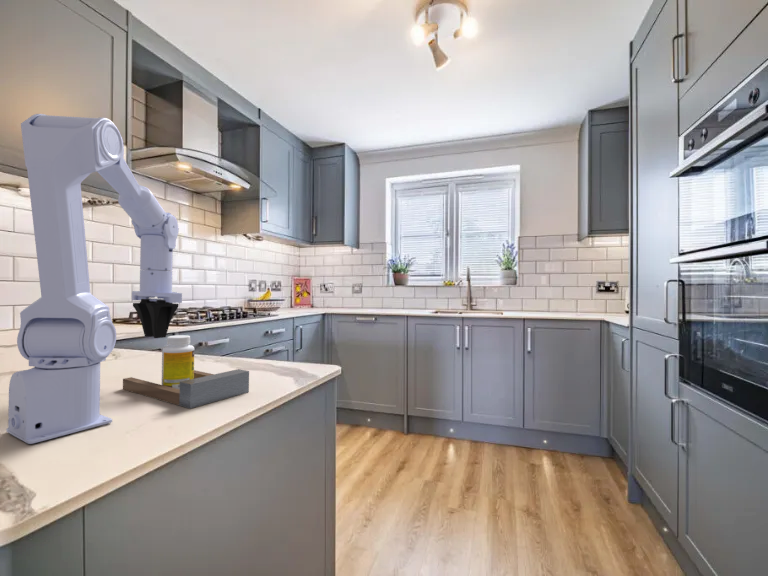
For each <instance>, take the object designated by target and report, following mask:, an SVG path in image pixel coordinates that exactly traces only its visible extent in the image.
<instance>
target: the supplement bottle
mask: <svg viewBox="0 0 768 576" xmlns="http://www.w3.org/2000/svg"><path fill="white" fill-rule="evenodd" d="M166 337H167V338H166V339H167V340H166V346H164V347H163V348H162V350H161V351H162V352H161V385H164V386H168V387H172V388H176V389H179V390H180V382H181V381H186V380H191V379H194V370H195V346H193V345H192V344H191V335H187V334H177V335H170V336H166Z"/></svg>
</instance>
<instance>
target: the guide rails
mask: <svg viewBox="0 0 768 576" xmlns="http://www.w3.org/2000/svg"><path fill="white" fill-rule="evenodd" d="M214 374H215V373H214ZM214 374H213V373H210V372H205V371H199V370H195V369H194V379H195V378H200V377H204V376H209V375H214ZM122 390H125V391H128V392H131V393H135V394H139V395H141V396H145V397H148V398H151V399H156V400H158V401H162V402H166V403H168V404H169V403H170V404H173V405H176V406H179V397H180V390H179V389H176V388H172V387H168V386H164V385H162V384H159V383H155V382H151V381H148V380H143V379H139V378H136V377H133V376H130V377H124V378H122Z"/></svg>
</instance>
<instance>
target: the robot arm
mask: <svg viewBox="0 0 768 576" xmlns="http://www.w3.org/2000/svg"><path fill="white" fill-rule="evenodd" d="M20 128H21V129H20V130H21V138H22V146H23V147H22V148H23V155H24V164H25V168H26V170H27V178H28V179H27V180H28V187H29V197H30V207H31V208H30V209H31V216H32V225H33V233H34V241H35V244H34V245H35V251H36V253H35V254H36V260H37V261H36V262H37V269H38V270H37V271H38V277H39V279H38V280H39V287H40V297H39V298H38V299H36V300H35V301H34V302H32V303H31V304H29V305H28V306H26V307H25V308H24V309H23V310H21V311H20V312H19V315H20V316H19V317H20V325H19V326H20V328H19V330H18V334H17V337H16V345H17V349H18V352H19V354H20V355H21V356H22V357H23V358H24V359H25V360H27V361H28V367H32V368H29V369H25V370H18V371H15V372H14V373H13V374H12V375H11V376H10V380H9V386H8V413H7V415H8V420H7V421H8V422H7V423H8V424H7V426H8V427H7V428H6V429H5V431H6V433H8V434H10V435H11V436H12V437H15V438H17V439H18V440H21V441H23V442H25V444H27V445H31V444H33V445H34V444H36V443H40V442H43V441H48V440H51V439H55V438H58V437H63V436H66V435H67V436H68V435H69V434H74V433H77V432H81V431H84V430H89V429H93V428H96V427H100V426H104V425H107V424H111V423H112V422H113V418H111V417H108V416H107V415H106V416H105V415H102V414H100V410H101V409H100V405H101V403H100V402H101V362H106V360H107V358H108V357H109V356H110V354H112V352H113V350H114V348H115V345H116V342H117V330H116V327H115V325H114V323H113V321H112V317H111V312H110V307H109V305H107V304H105V303H104V302H103V301H102V300H100V299H99V298H97V297H96V296H95V295H93V294H92V293H91V285H90V272H89V263H88V251H87V250H88V249H87V242H86V229H85V218H84V217H85V215H84V207H83V197H82V185H81V184H82V182H83V181H84V180H86V179H87V178H88V177H89V176H90V175H91V174H92V173H97V174H99V176H101V178H103V180H104V181H106V183H108V184H109V186H111V188H112V189H114V191H115V192H117V193H118V194H119V195H118V201H117V203H118V205H119V206H120V208H121V209H123V211H124V212H125V213H126V214H127V216H128V217H129V218H130V219H131V223H132V224H131V225H132V226H133V229H134V232H135V235H136V238H139V239H140V247H139V248H140V254H139V255H140V257H139V260H140V261H139V262H140V263H139V290H138V291H137V290H134V291H133V290H132V291H131V300H132V301H139V302H133V303H132V307H133V308H134V310H135V311H136V313H137V315H138V317H139V320H140V323H141V327H142V331H143V334H144V337H146V338H149V337H150V338H151V337H153V338H154V339H161V338H166V337H167V333H168V331H169V326H170V324H171V321H172V318H173V316H174V315H175V313H176V311H177V310H178V308H179V304H180V303H181V304H182V303H183V293H182V292H177V291H173V264H174V263H173V261H174V259H173V256H174V255H173V252H174V250H175V249H176V244H177V239H178V235H179V229H180V228H179V224H178V223H179V222H178V219H177V217H176V216H175V215H173V214H172V213H170V212H166V210H165V209H164V208H163V207H162V205H161V204H160V202H159V201H158V199H157V198H156V196H155V195H154V194H153V192H152V191H151V190H150V189H149V187H147V186H144V185H142V184H141V185H140V184H139V181H137V179H136V178H135V175H134V174H133V172H132V170H131V169H130V167H129V165H128V163H127V162H126V159H125V158H124V154H125V153H124V152H125V148H124V146H125V145H124V139H123V137H122V135H121V132H120V131H119V129H118V127H117V125H115V123H114V122H113V121H112V120H111V119H109V118H107V117H82V116H67V115H66V116H65V115H63V116H62V115H48V114H44V113H35V114H33V115H31V116H30V117H28V118H27V119H25V120H24V121H22V122H21V123H20Z"/></svg>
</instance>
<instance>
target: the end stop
mask: <svg viewBox="0 0 768 576" xmlns="http://www.w3.org/2000/svg"><path fill="white" fill-rule="evenodd" d="M249 392H250V371H249V370H246V369H239V368H238V369H237V368H236V369H233V370H228V371H223V372H218V373H214V375H209V376H204V377H200V378H195V379H191V380H186V381H181V382H180V397H179V405H178V406H179V407H183V408H186V409H194V408H196V407H197V408H198V407H201V406H204V405H208V404H211V403H215V402H219V401H222V400H226V399H229V398H232V397H237V396H239V395H242V394H246V393H249Z"/></svg>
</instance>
